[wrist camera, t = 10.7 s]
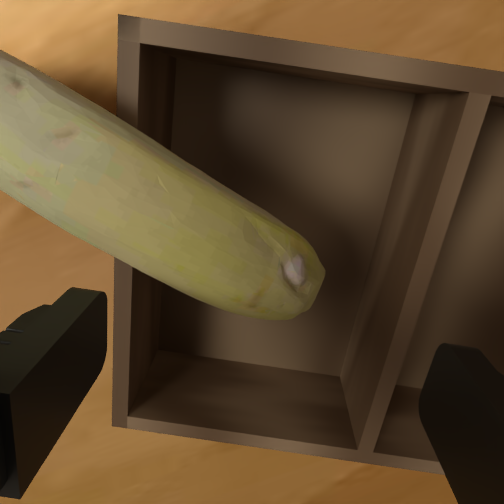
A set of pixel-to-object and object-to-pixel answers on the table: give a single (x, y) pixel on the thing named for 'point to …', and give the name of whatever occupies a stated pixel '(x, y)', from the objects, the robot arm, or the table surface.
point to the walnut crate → (317, 239)
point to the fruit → (146, 202)
